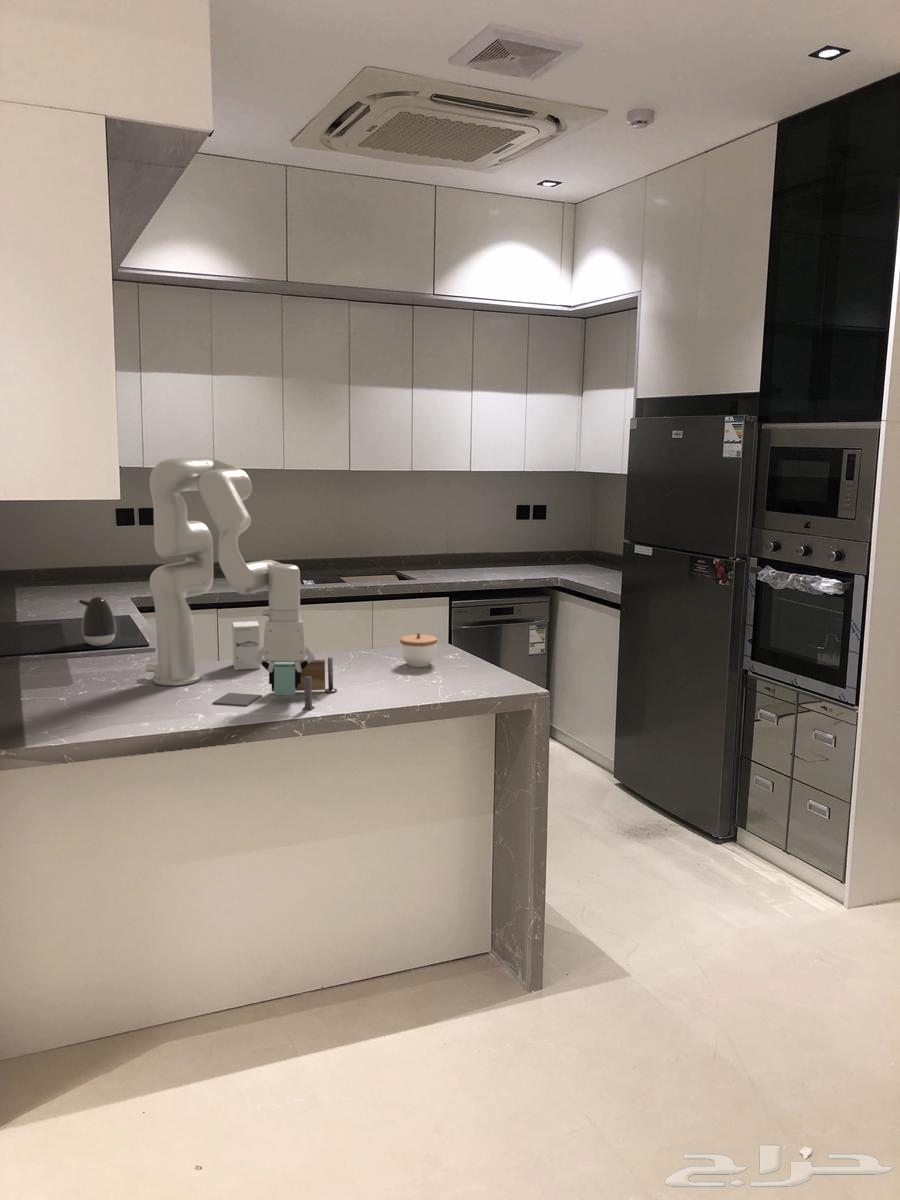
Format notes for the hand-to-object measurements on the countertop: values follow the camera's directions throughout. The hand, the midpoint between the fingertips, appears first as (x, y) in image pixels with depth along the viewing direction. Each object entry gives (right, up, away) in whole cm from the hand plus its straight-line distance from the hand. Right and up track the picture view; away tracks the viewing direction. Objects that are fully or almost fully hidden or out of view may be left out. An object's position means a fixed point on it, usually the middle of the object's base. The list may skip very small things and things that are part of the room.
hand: (285, 685), depth 237 cm
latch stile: (+7, -5, -5) cm, 10 cm away
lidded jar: (+32, +2, +39) cm, 50 cm away
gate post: (+10, -2, +10) cm, 15 cm away
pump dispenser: (-69, +7, +63) cm, 94 cm away
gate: (+2, -2, +9) cm, 10 cm away
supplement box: (-17, +2, +35) cm, 39 cm away
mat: (-12, -4, +2) cm, 13 cm away
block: (0, -1, 0) cm, 2 cm away
